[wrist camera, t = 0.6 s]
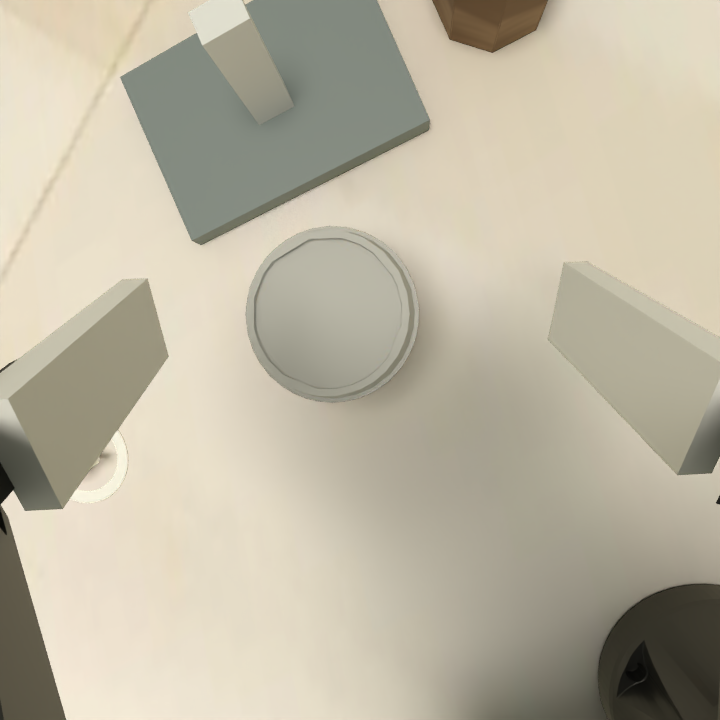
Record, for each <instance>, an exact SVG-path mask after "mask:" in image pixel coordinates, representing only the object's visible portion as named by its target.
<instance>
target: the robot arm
mask: <svg viewBox="0 0 720 720" xmlns="http://www.w3.org/2000/svg"><path fill="white" fill-rule="evenodd" d="M548 340H549V341H550V342H551V343H552V344H553V345H554V347H555V348H556V349H557V350H558V351H559V352H560V353H561V354H562V355H563V356H564V357H565V358H566V359H567V360H568V361H569V362H570V363H571V364H572V365H573V366H574V367H575V368H576V370H577V371H578V372H579V373H580V374H581V375H582V376H583V377H584V378H585V379H586V380H587V381H588V382H589V383H590V384H591V385H592V386H593V387H594V388H595V389H596V390H597V392H598V393H599V394H600V395H601V396H602V397H603V398H604V399H605V400H606V401H607V402H608V403H609V404H610V405H611V406H612V407H613V408H614V409H615V410H616V411H617V412H618V413H619V415H620V416H621V417H622V418H623V419H624V420H625V421H626V422H627V423H628V424H629V425H630V426H631V427H632V428H633V429H634V430H635V431H636V432H637V433H638V434H639V435H640V437H641V438H642V439H643V440H644V441H645V442H646V443H647V444H648V445H649V446H650V447H651V448H652V449H653V450H654V451H655V452H656V453H657V454H658V455H659V456H660V457H661V459H662V460H663V461H664V462H665V463H666V464H667V465H668V466H669V467H670V468H671V469H672V470H673V471H674V472H675V473H676V474H677V475H688V474H706V473H712V471H713V469H714V467H715V465H716V463H717V461H718V459H719V457H720V337H718V336H717V335H715V334H713V333H711V332H710V331H708V330H706V329H704V328H703V327H701V326H699V325H697V324H696V323H694V322H692V321H690V320H689V319H687V318H685V317H683V316H682V315H680V314H678V313H676V312H675V311H673V310H671V309H670V308H668V307H666V306H664V305H663V304H661V303H659V302H657V301H656V300H654V299H652V298H650V297H649V296H647V295H645V294H643V293H642V292H640V291H638V290H636V289H635V288H633V287H631V286H629V285H628V284H626V283H624V282H622V281H621V280H619V279H617V278H615V277H614V276H612V275H610V274H608V273H607V272H605V271H603V270H601V269H600V268H598V267H596V266H594V265H593V264H591V263H589V262H564V264H563V269H562V274H561V279H560V284H559V289H558V293H557V298H556V303H555V308H554V313H553V318H552V323H551V327H550V332H549V337H548ZM168 357H169V356H168V352H167V349H166V345H165V341H164V338H163V334H162V330H161V327H160V323H159V319H158V315H157V312H156V308H155V304H154V301H153V297H152V293H151V289H150V286H149V282H148V278H147V279H122V280H121V281H120V282H118V283H117V284H116V285H115V286H113V287H112V288H111V289H109V290H108V291H107V292H105V293H104V294H103V295H101V296H100V297H99V298H98V299H96V300H95V301H94V302H92V303H91V304H90V305H88V306H87V307H86V308H84V309H83V310H82V311H81V312H79V313H78V314H77V315H75V316H74V317H73V318H71V319H70V320H69V321H67V322H66V323H65V324H64V325H62V326H61V327H60V328H58V329H57V330H56V331H54V332H53V333H52V334H50V335H49V336H48V337H47V338H45V339H44V340H43V341H41V342H40V343H39V344H37V345H36V346H35V347H33V348H32V349H31V350H30V351H28V352H27V353H26V354H24V355H23V356H22V357H20V358H19V359H17V360H15V361H13V362H11V363H9V364H8V365H6V366H5V367H4V368H2V369H1V370H0V720H66V718H65V714H64V711H63V707H62V704H61V700H60V697H59V693H58V690H57V686H56V683H55V679H54V676H53V672H52V669H51V665H50V662H49V658H48V655H47V652H46V648H45V645H44V641H43V638H42V634H41V631H40V627H39V624H38V620H37V617H36V613H35V610H34V606H33V603H32V599H31V596H30V592H29V589H28V585H27V582H26V578H25V575H24V571H23V568H22V564H21V561H20V557H19V554H18V550H17V547H16V543H15V540H14V536H13V533H12V529H11V526H10V522H9V519H8V516H7V515H6V513H5V511H4V510H3V508H2V506H1V503H2V502H3V501H4V500H5V499H6V498H7V496H8V495H9V494H10V493H11V492H12V491H13V490H14V492H15V494H16V495H17V497H18V499H19V501H20V503H21V504H22V506H23V508H24V510H25V511H31V510H49V509H63V508H64V506H65V505H66V503H67V502H68V501H69V499H70V498H71V496H72V495H73V493H74V492H75V490H76V489H77V488H78V486H79V485H80V483H81V482H82V480H83V479H84V477H85V476H86V475H87V473H88V472H89V470H90V469H91V467H92V466H93V465H94V463H95V462H96V460H97V459H98V457H99V456H100V454H101V453H102V452H103V450H104V449H105V447H106V446H107V444H108V443H109V442H110V440H111V439H112V437H113V436H114V434H115V433H116V431H117V430H118V429H119V427H120V426H121V424H122V423H123V421H124V420H125V418H126V417H127V416H128V414H129V413H130V411H131V410H132V408H133V407H134V406H135V404H136V403H137V401H138V400H139V398H140V397H141V395H142V394H143V393H144V391H145V390H146V388H147V387H148V385H149V384H150V382H151V381H152V380H153V378H154V377H155V375H156V374H157V372H158V371H159V370H160V368H161V367H162V365H163V364H164V362H165V361H166V359H167V358H168ZM716 503H717V504H720V496H719V498H718V500H717V502H716ZM598 681H599V691H600V697H601V701H602V704H603V708H604V710H605V713H606V715H607V717H608V719H609V720H720V586H718V585H688V586H681V587H676V588H672V589H669V590H665V591H663V592H660V593H657V594H655V595H653V596H651V597H649V598H647V599H645V600H643V601H642V602H640V603H639V604H637V605H636V606H635V607H633V608H632V609H631V610H630V611H629V612H628V613H626V614H625V615H624V616H623V617H622V619H621V620H620V621H619V622H618V623H617V624H616V626H615V627H614V629H613V630H612V632H611V633H610V635H609V637H608V639H607V641H606V643H605V646H604V648H603V651H602V655H601V658H600V664H599V673H598Z"/></svg>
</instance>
